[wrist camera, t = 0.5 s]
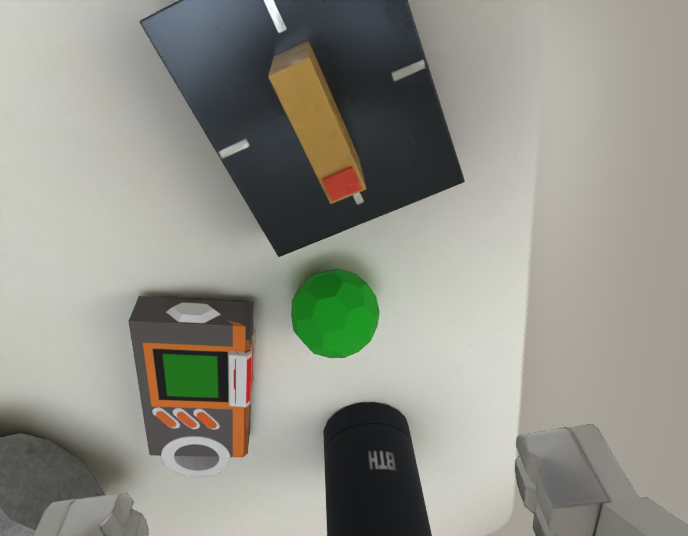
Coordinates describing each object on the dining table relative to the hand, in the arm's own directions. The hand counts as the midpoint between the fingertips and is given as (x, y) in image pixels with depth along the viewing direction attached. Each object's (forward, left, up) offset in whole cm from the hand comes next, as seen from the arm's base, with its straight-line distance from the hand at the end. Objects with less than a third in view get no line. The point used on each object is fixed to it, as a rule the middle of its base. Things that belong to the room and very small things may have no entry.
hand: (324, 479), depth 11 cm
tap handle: (-3, +1, -16) cm, 16 cm away
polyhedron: (+8, -3, -19) cm, 21 cm away
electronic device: (+11, -14, -19) cm, 26 cm away
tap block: (-3, +1, -19) cm, 19 cm away
